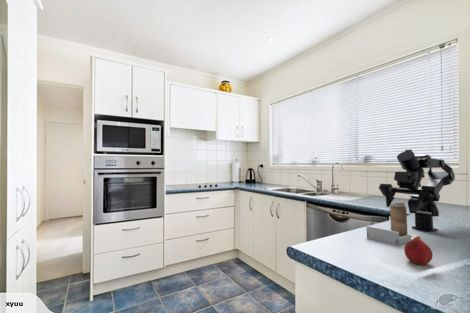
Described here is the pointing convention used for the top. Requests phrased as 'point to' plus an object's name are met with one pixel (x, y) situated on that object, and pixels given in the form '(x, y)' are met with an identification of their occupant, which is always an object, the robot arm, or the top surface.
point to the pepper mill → (398, 218)
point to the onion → (418, 251)
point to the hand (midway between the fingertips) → (400, 208)
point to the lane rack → (388, 235)
